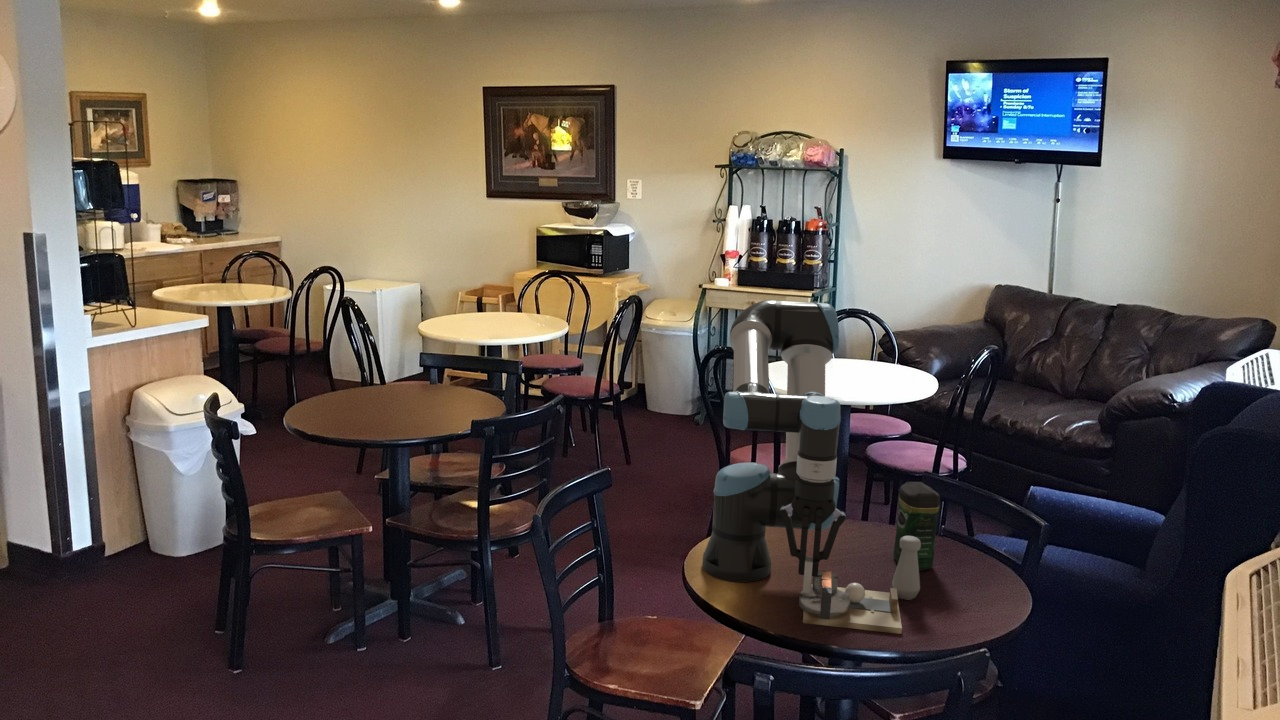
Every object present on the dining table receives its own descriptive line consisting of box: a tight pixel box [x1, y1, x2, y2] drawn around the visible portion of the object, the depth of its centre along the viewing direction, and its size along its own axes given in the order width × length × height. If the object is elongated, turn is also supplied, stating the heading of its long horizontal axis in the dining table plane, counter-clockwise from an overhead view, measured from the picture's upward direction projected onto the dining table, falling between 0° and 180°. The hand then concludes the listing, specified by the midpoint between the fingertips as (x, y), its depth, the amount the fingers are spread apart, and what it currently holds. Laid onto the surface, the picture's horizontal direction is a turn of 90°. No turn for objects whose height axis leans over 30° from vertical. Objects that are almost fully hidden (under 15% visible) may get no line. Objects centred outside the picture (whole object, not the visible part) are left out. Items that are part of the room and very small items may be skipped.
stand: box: [802, 583, 903, 635], centre depth 212 cm, size 19×16×4 cm
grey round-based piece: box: [798, 569, 850, 620], centre depth 208 cm, size 10×16×7 cm, turn 170°
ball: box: [845, 582, 866, 603], centre depth 213 cm, size 4×4×4 cm
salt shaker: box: [891, 536, 921, 601], centre depth 219 cm, size 6×6×13 cm
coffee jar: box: [892, 481, 941, 572], centre depth 235 cm, size 10×8×19 cm
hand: (806, 589), depth 207 cm, fingers closed
